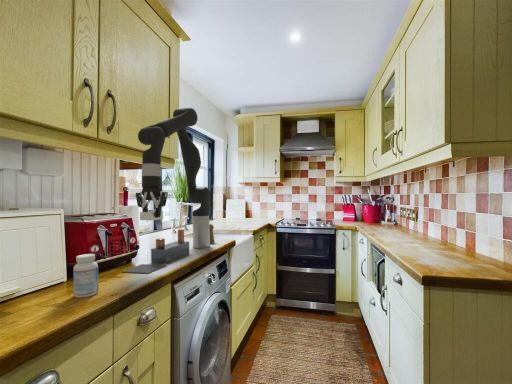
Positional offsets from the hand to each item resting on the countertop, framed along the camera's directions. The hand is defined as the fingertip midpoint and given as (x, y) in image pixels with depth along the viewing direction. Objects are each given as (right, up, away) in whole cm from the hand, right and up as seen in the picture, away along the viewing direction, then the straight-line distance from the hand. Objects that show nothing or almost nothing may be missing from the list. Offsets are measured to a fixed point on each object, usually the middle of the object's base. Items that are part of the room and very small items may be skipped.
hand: (151, 217), depth 110 cm
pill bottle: (-7, -19, -32) cm, 38 cm away
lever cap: (0, -1, 0) cm, 1 cm away
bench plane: (+4, -20, +13) cm, 24 cm away
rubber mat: (-1, -20, -5) cm, 20 cm away
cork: (+14, -21, +55) cm, 60 cm away
